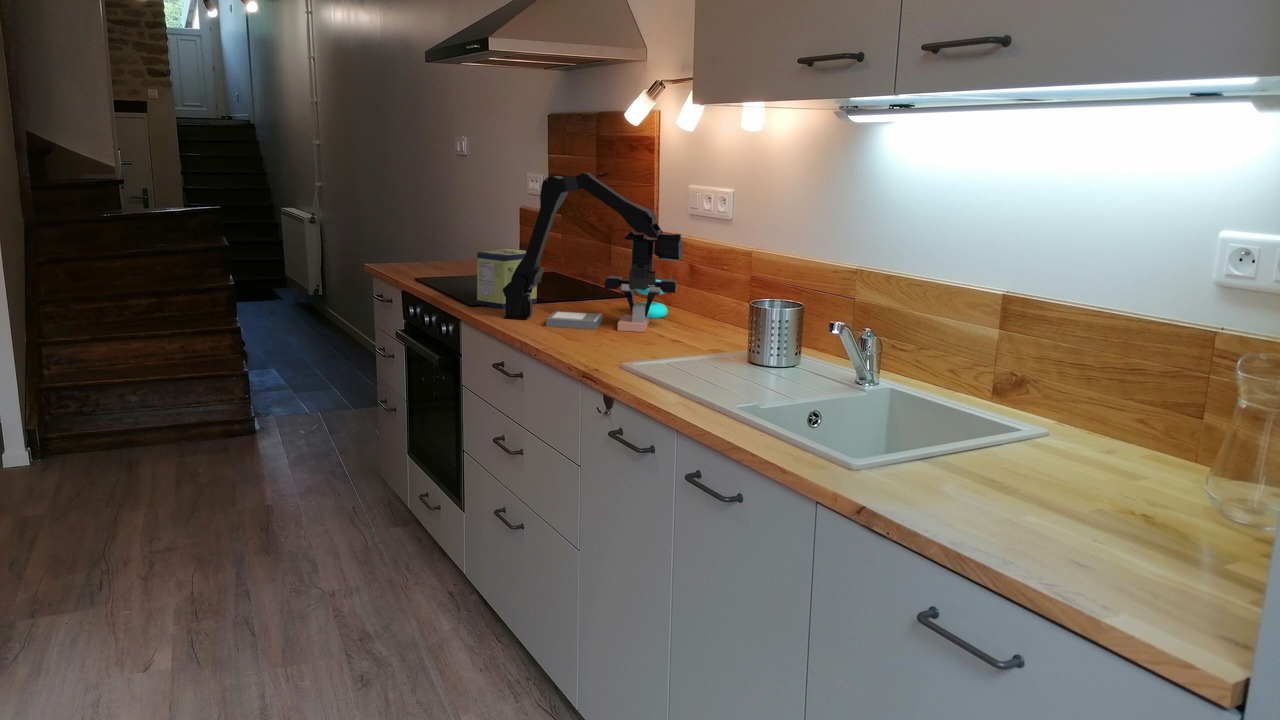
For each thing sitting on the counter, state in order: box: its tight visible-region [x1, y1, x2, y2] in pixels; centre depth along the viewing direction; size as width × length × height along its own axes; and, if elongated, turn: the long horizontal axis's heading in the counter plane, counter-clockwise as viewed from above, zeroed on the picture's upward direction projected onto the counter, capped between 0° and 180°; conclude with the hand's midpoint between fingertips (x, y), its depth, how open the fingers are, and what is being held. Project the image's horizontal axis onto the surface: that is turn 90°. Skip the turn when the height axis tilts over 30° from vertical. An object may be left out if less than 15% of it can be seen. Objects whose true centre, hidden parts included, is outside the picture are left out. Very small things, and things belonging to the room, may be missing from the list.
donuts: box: [634, 279, 669, 319], centre depth 266 cm, size 10×10×10 cm
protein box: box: [476, 248, 538, 310], centre depth 275 cm, size 10×16×16 cm
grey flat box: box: [545, 310, 604, 330], centre depth 251 cm, size 13×12×2 cm
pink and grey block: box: [617, 301, 650, 333], centre depth 249 cm, size 7×12×6 cm, turn 174°
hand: (639, 316), depth 248 cm, fingers closed on pink and grey block, 3 cm apart
